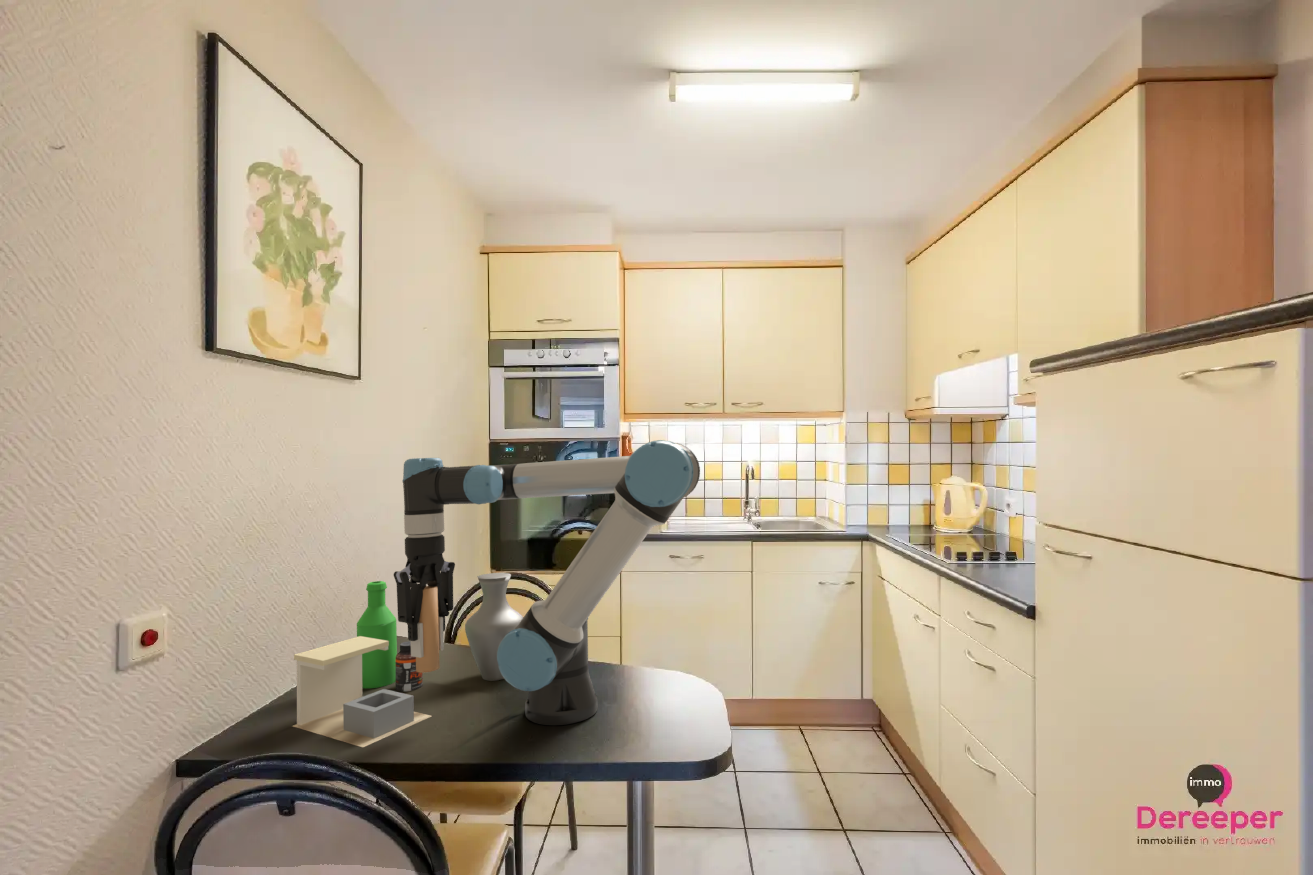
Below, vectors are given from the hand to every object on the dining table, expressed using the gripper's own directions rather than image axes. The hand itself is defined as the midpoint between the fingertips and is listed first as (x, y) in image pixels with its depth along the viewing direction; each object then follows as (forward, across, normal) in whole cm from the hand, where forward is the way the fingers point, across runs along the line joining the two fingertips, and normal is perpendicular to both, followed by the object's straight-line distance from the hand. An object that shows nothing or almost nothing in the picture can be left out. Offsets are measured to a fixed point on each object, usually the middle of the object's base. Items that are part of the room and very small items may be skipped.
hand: (427, 652), depth 127 cm
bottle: (+15, -13, -33) cm, 38 cm away
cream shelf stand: (+14, +4, -21) cm, 25 cm away
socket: (+14, +4, -10) cm, 18 cm away
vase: (+16, -31, -12) cm, 36 cm away
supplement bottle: (+16, -14, -23) cm, 31 cm away
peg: (+3, 0, 0) cm, 3 cm away
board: (+15, +4, -15) cm, 22 cm away
